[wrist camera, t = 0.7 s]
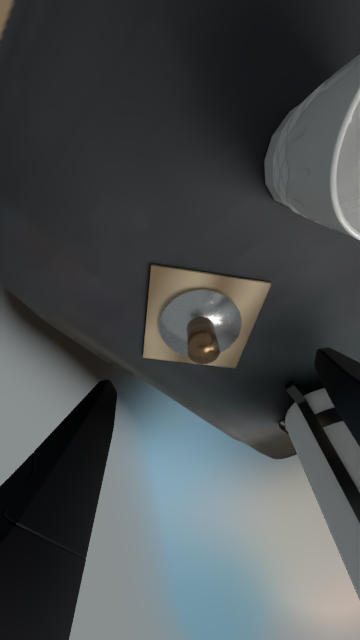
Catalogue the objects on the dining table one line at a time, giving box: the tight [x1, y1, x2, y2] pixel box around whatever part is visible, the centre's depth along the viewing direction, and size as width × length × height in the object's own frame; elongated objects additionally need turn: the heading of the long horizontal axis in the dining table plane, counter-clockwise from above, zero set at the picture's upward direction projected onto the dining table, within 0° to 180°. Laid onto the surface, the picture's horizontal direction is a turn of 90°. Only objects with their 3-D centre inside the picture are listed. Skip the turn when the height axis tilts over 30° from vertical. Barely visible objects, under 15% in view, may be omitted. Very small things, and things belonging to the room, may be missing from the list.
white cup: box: [264, 54, 360, 240], centre depth 12 cm, size 8×8×10 cm
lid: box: [159, 288, 242, 364], centre depth 22 cm, size 9×9×5 cm
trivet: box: [143, 264, 271, 368], centre depth 24 cm, size 12×12×1 cm
